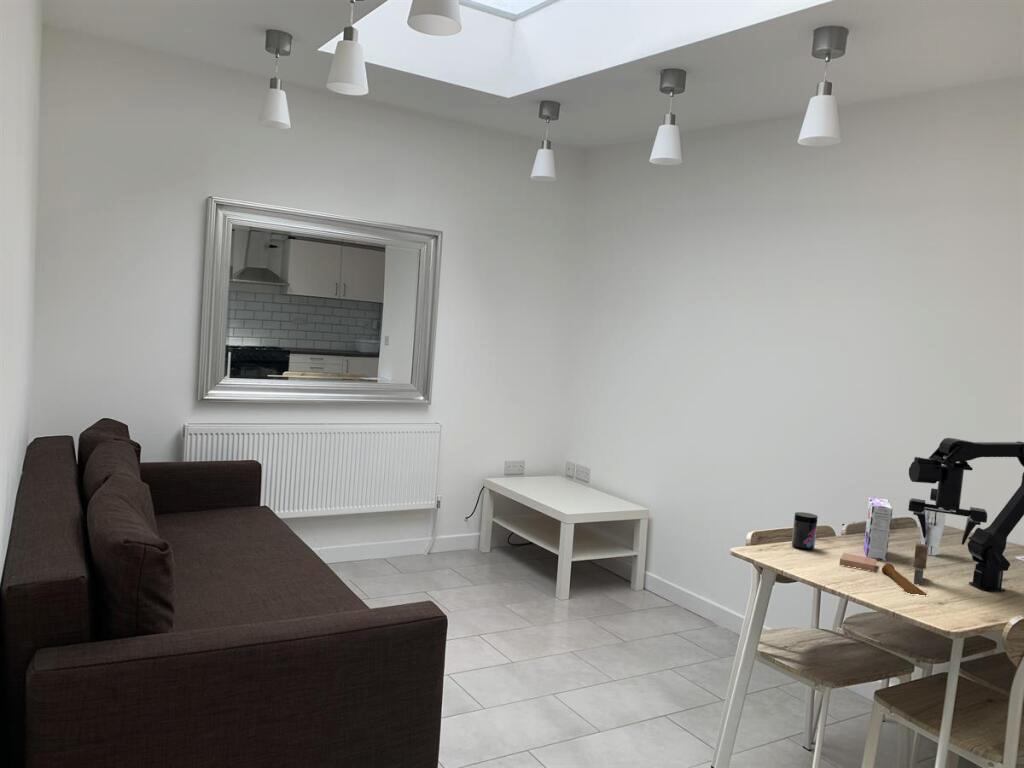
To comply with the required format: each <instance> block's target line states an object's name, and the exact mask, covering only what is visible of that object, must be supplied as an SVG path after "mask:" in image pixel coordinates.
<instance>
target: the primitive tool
mask: <svg viewBox="0 0 1024 768" xmlns="http://www.w3.org/2000/svg"><path fill="white" fill-rule="evenodd" d="M881 573H882V574H883V573H884V574H883V575H886V574H887V575H886V576H888V577H890V578H891V580H893V581H894V582H895V583H896V584H897V583H898V584H897V585H898V586H899V585H900V586H901V587H902V588H903V589H904V590H903V589H902V588H901V587H900V586H899V587H900V588H901V589H902V590H903V592H904V591H905V592H907V593H910V594H919V595H925V596H924V597H927V596H926V595H928V594H927V593H926V592H925V591H923V590H922V589H920V588H919V587H918V586H917V585H916V584H914V583H912V582H911V581H910V580H909V579H907V578H906V577H905V576H904V575H902V574H901V573H900V572H899V571H897V570H896V569H895V567H894V565H893V564H891V563H885V564H884V565H883V566H882V568H881ZM905 592H904V593H905Z"/></svg>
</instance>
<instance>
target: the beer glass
mask: <svg viewBox="0 0 1024 768" xmlns="http://www.w3.org/2000/svg"><path fill="white" fill-rule="evenodd" d="M939 509H943V508H939ZM925 519H926V537H925V538H924V537H923V532H922V528H921V524H920V523H919V530H920V542H919V544H924V545H928V552H927V556H930V557H938V556H940V542H941V538H942V535H943V531H944V528H945V523H946V513H941V512H934V511H928V510H925Z"/></svg>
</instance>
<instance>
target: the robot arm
mask: <svg viewBox="0 0 1024 768" xmlns="http://www.w3.org/2000/svg"><path fill="white" fill-rule="evenodd" d="M978 458H1016V459H1017V460H1018V462H1019V463H1020V465H1021V466H1022V467H1023V468H1024V442H1023V441H1015V442H1013V441H1006V442H1005V441H1001V442H998V441H997V442H996V441H995V442H993V441H992V442H991V441H989V442H986V441H985V442H983V441H980V442H979V441H977V442H976V441H970V440H969V441H968V440H965V439H958V438H953V437H946V438H943V440H941V442H940V443H939V445H938V447H937V448H936V449H935V451H933V453H932V454H931V455H930V456H929V457H928V458H927V457H926V458H924V457H920V456H914V460H913V461H912V462H911V463H910V466H909V467H908V476H909V479H910V481H911V482H913V483H922V484H932V485H933V484H937V488H931V489H930V496H929V500H930V501H933V502H935V504H932V503H926V500H925V499H919V498H911V499H909V502H908V508H907V509H908V511H909V512H913V513H912V515H914V516H917V518H918V521H919V525H920V524H921V528H922V532H923V537H924V538H925V537H926V519H925V510H928V511H934V512H941V513H945V514H947V515H956V516H962V517H967V519H966V524H965V527H964V531H963V535H962V538H961V545H962V546H963V545H965V543H966V541H967V540H969V541H968V542H967V550H968V552H969V554H970V555H971V558H972V561H973V562H976V563H975V569H974V570H973V578H972V581H969V582H968V585H971V586H973V587H976V588H978V589H980V590H983V591H986V592H1006V591H1007V589H1006V588H1005V587H1004V588H1003V587H1002V585H1003V576H1004V572H1008V571H1009V568H1010V566H1011V562H1009V561H1008V559H1007V558H1006V557H1005V556H1004V552H1005V550H1006V548H1007V540H1008V537H1009V535H1010V534H1011V533H1012V531H1013V530H1014V529H1015V527H1016V526H1017V525H1018V523H1019V522H1020V521H1021V519H1023V517H1024V471H1023V473H1022V475H1021V484H1020V486H1019V487H1018V488H1017V489H1016V491H1015V492H1014V493H1013V494H1012V496H1011V498H1010V499H1009V500H1008V501H1007V502H1006V504H1005V505H1004V507H1003V508H1002V509H1001V510H1000V512H999V513H998V515H997V516H996V517H995V518H994V520H993V521H992V522H991V524H989V526H987V527H986V528H981V527H978V526H981V523H985V524H986V523H988V511H987V510H986V509H985V508H978V507H972V506H970V507H969V509H964V508H960V505H961V499H962V490H963V482H964V474H965V473H964V472H965V471H972V470H973V469H974V468H973V467H972V466H971V465H970V464H969V463H968V462H969V461H973V460H976V459H978ZM939 508H943V509H939ZM976 526H977V528H975V527H976ZM974 528H975V530H974V532H973V534H972V535H971V536H969V535H970V534H971V532H972V531H973V529H974Z"/></svg>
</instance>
